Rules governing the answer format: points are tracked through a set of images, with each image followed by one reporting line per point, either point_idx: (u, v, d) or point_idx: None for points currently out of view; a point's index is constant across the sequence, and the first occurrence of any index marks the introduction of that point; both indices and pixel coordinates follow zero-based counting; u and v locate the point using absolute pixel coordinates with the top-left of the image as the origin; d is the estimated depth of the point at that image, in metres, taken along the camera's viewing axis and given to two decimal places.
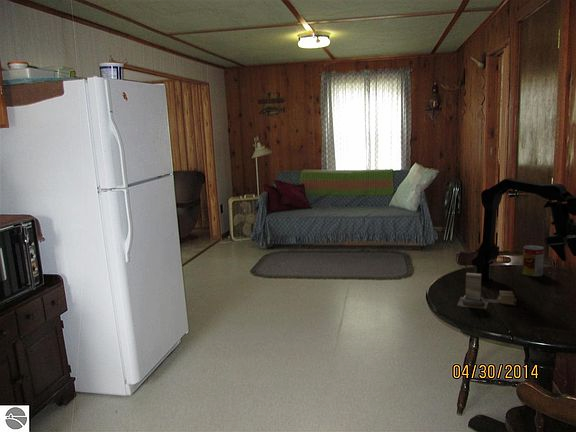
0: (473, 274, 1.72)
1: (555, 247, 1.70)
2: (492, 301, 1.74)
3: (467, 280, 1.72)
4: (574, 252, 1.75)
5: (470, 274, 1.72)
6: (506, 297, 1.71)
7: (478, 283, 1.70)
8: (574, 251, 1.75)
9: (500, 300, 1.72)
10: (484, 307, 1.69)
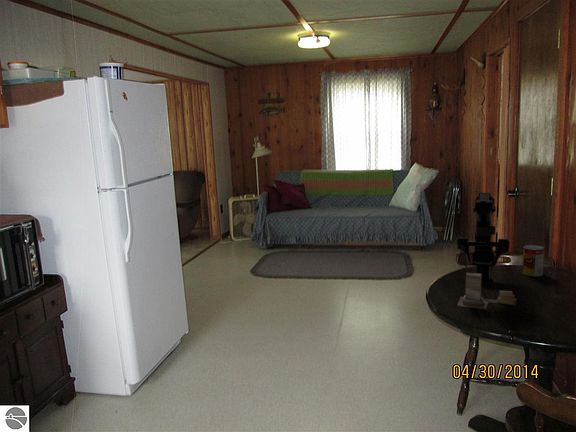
0: (473, 274, 1.72)
1: (465, 251, 1.84)
2: (492, 301, 1.74)
3: (467, 280, 1.72)
4: (494, 261, 1.77)
5: (470, 274, 1.72)
6: (506, 297, 1.71)
7: (478, 283, 1.70)
8: (494, 260, 1.77)
9: (500, 300, 1.72)
10: (484, 307, 1.69)
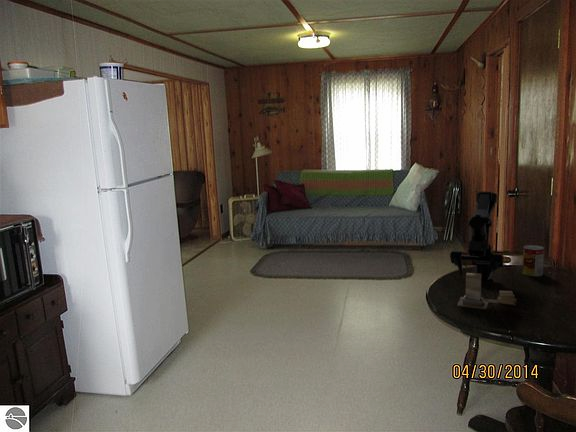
0: (473, 274, 1.72)
1: None
2: (492, 301, 1.74)
3: (467, 280, 1.72)
4: (487, 276, 1.73)
5: (470, 274, 1.72)
6: (506, 297, 1.71)
7: (478, 283, 1.70)
8: (487, 275, 1.73)
9: (500, 300, 1.72)
10: (484, 307, 1.69)
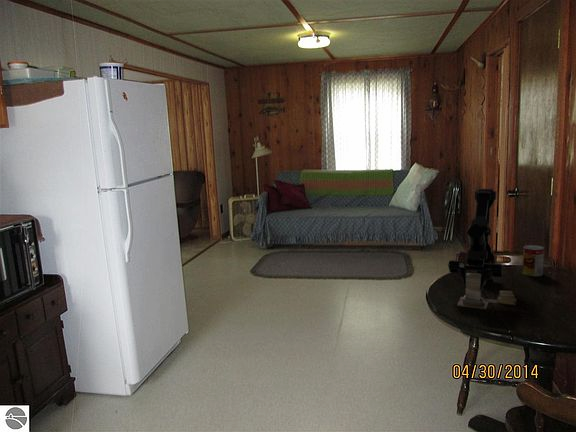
0: (473, 274, 1.72)
1: None
2: (492, 301, 1.74)
3: (467, 280, 1.72)
4: None
5: (470, 274, 1.72)
6: (506, 297, 1.71)
7: (478, 283, 1.70)
8: None
9: (500, 300, 1.72)
10: (484, 307, 1.69)
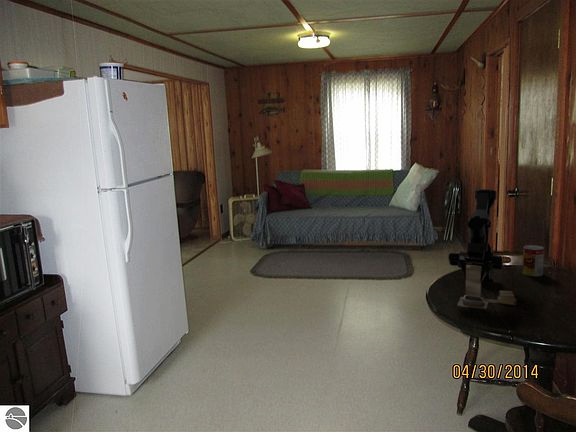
0: (473, 267, 1.71)
1: None
2: (492, 301, 1.74)
3: (467, 272, 1.71)
4: (480, 278, 1.71)
5: (470, 266, 1.72)
6: (506, 297, 1.71)
7: (478, 275, 1.70)
8: None
9: (500, 300, 1.72)
10: (484, 307, 1.69)
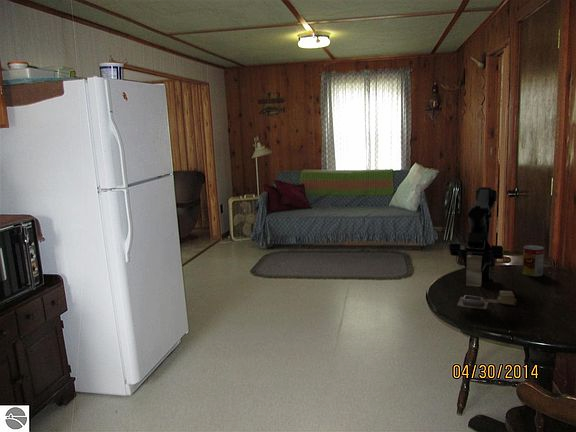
0: (474, 256, 1.72)
1: (463, 258, 1.77)
2: (492, 301, 1.74)
3: (468, 262, 1.72)
4: (481, 267, 1.71)
5: (471, 256, 1.72)
6: (506, 297, 1.71)
7: (479, 265, 1.70)
8: (481, 266, 1.71)
9: (500, 300, 1.72)
10: (484, 307, 1.69)
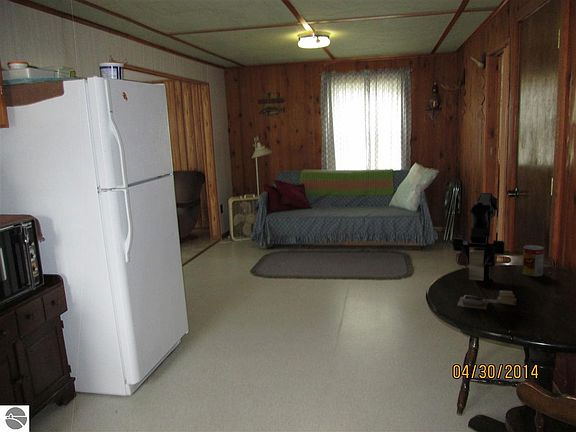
0: (477, 251, 1.78)
1: (466, 253, 1.83)
2: (492, 301, 1.74)
3: (471, 256, 1.78)
4: None
5: (473, 251, 1.78)
6: (506, 297, 1.71)
7: (481, 259, 1.76)
8: (483, 261, 1.77)
9: (500, 300, 1.72)
10: (484, 307, 1.69)
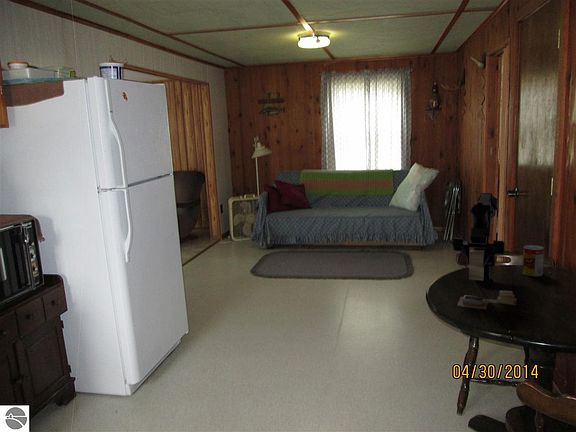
0: (477, 251, 1.78)
1: (466, 253, 1.83)
2: (492, 301, 1.74)
3: (471, 256, 1.78)
4: None
5: (473, 251, 1.78)
6: (506, 297, 1.71)
7: (481, 259, 1.76)
8: (483, 261, 1.77)
9: (500, 300, 1.72)
10: (484, 307, 1.69)
